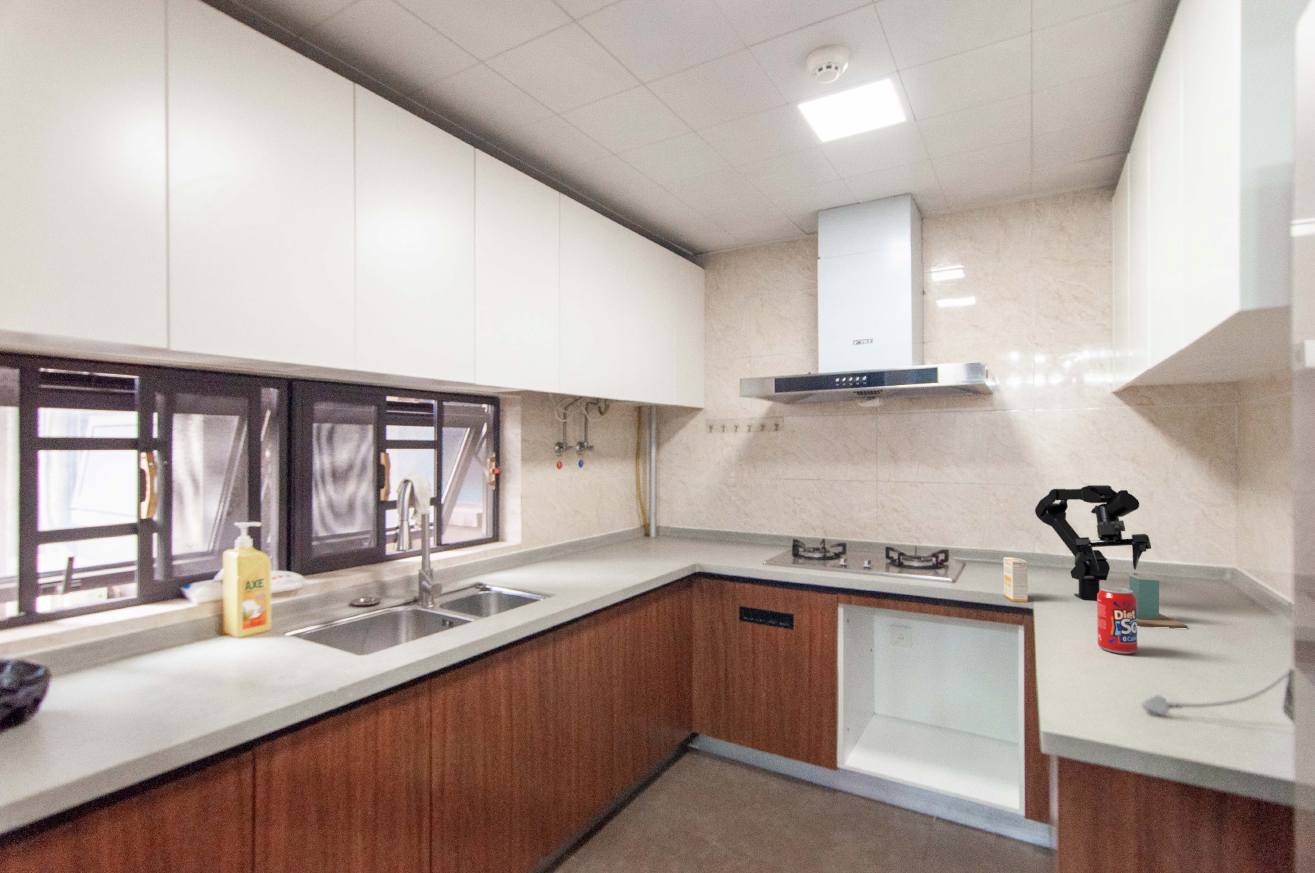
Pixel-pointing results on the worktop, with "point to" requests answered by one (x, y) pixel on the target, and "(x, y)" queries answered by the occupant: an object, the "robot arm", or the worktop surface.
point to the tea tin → (1146, 595)
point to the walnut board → (1160, 622)
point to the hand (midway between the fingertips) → (1115, 569)
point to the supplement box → (1015, 579)
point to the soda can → (1117, 620)
